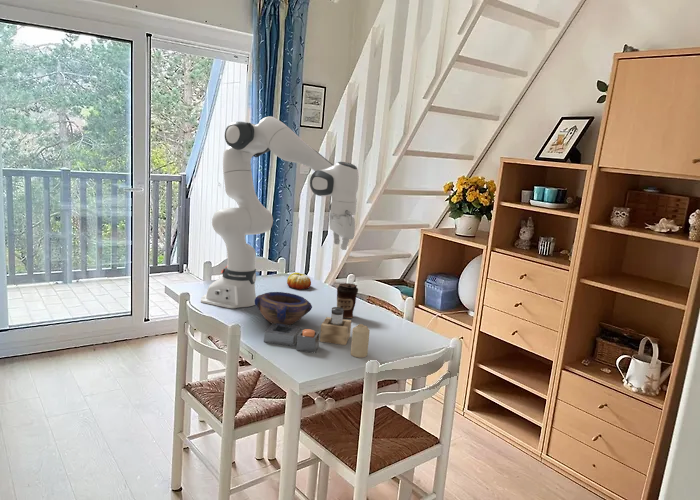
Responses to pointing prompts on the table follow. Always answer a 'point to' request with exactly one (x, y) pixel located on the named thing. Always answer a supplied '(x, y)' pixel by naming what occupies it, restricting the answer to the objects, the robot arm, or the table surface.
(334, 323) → the steel peg
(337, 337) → the wooden box
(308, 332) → the button
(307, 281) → the fruit
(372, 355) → the table surface
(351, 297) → the coffee cup
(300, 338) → the button housing
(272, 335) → the socket block
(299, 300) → the bowl
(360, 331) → the candle
